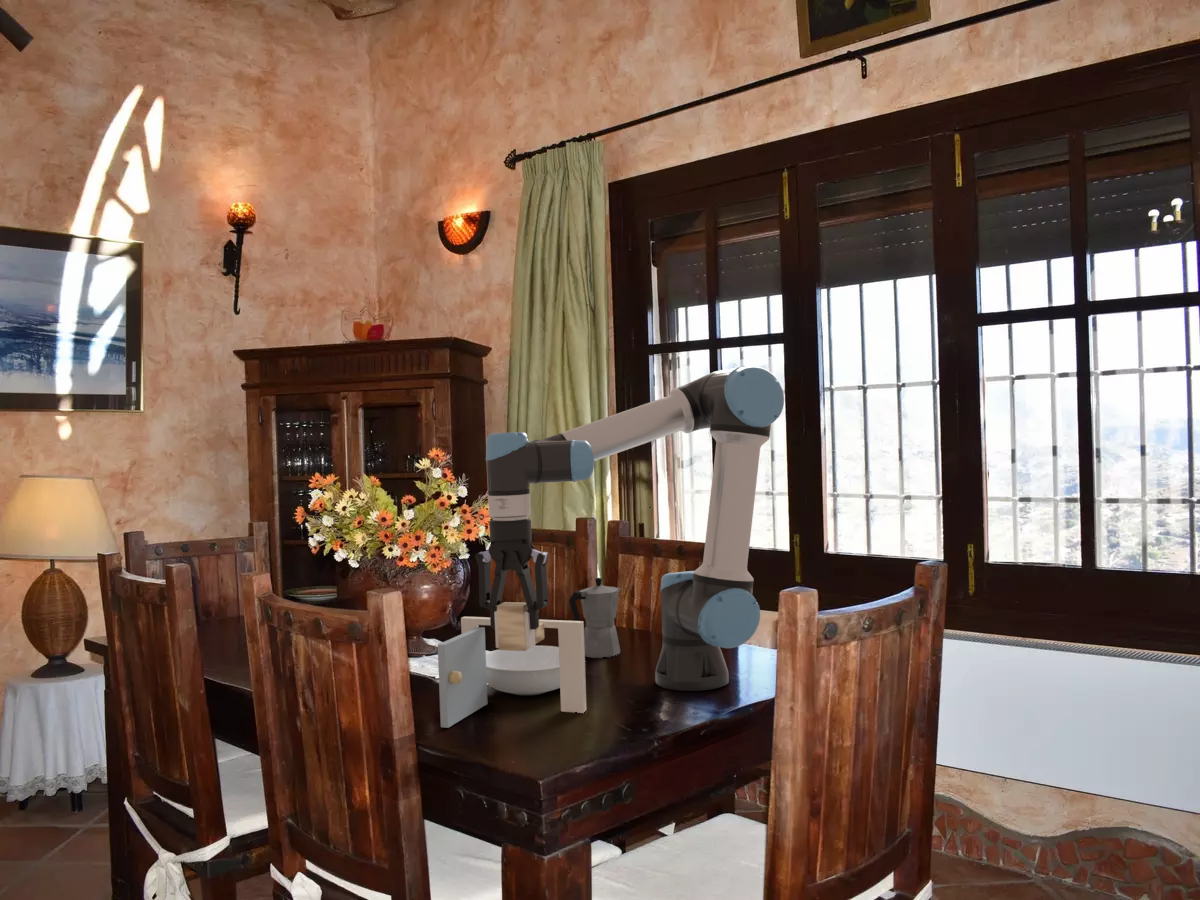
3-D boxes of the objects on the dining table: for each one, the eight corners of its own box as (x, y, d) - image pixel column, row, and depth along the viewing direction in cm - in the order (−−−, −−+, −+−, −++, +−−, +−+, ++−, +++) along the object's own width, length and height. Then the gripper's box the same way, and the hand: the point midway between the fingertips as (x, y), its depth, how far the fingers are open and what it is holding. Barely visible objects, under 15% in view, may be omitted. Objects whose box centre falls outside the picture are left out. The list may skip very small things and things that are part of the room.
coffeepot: (609, 646, 238) (607, 572, 238) (635, 652, 231) (632, 576, 231) (559, 657, 229) (556, 580, 228) (584, 663, 221) (581, 584, 221)
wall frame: (586, 710, 184) (583, 621, 184) (583, 713, 183) (580, 622, 182) (467, 702, 193) (464, 616, 193) (464, 704, 191) (460, 618, 191)
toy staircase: (519, 637, 184) (517, 595, 184) (544, 638, 183) (542, 596, 183) (498, 650, 175) (496, 605, 175) (524, 651, 173) (522, 606, 173)
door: (456, 728, 175) (452, 645, 175) (440, 727, 176) (437, 644, 176) (496, 703, 190) (493, 626, 190) (482, 702, 191) (479, 626, 191)
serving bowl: (487, 708, 188) (486, 673, 188) (472, 682, 208) (471, 650, 208) (591, 697, 194) (590, 663, 193) (567, 673, 214) (565, 641, 214)
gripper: (455, 520, 175) (460, 649, 175) (549, 519, 169) (554, 653, 169) (473, 516, 182) (479, 640, 182) (564, 515, 176) (569, 643, 177)
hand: (515, 646), depth 176 cm, fingers closed on toy staircase, 5 cm apart
